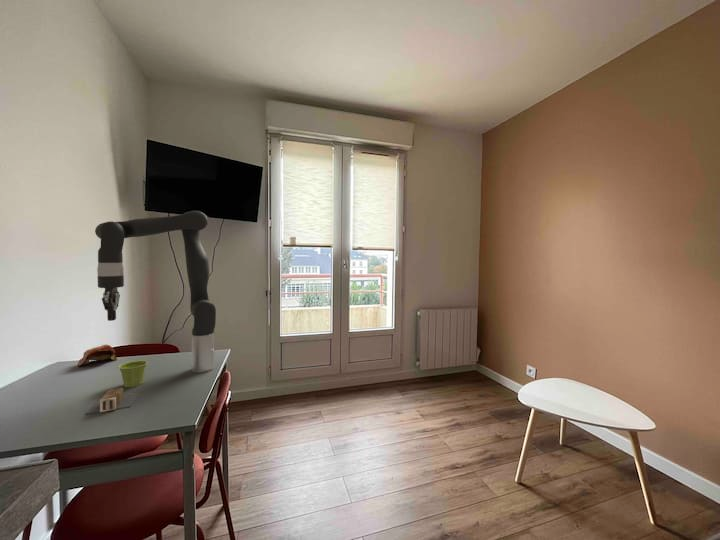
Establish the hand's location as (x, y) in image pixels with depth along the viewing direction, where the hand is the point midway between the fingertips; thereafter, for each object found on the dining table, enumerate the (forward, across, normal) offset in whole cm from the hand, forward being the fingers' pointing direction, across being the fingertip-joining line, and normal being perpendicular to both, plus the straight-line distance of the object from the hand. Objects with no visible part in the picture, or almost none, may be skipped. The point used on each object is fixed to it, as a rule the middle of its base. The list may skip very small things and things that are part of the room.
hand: (111, 320), depth 109 cm
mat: (+29, -8, -2) cm, 30 cm away
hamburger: (+29, +44, +16) cm, 55 cm away
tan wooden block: (+26, -16, -2) cm, 31 cm away
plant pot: (+29, +8, -5) cm, 31 cm away
